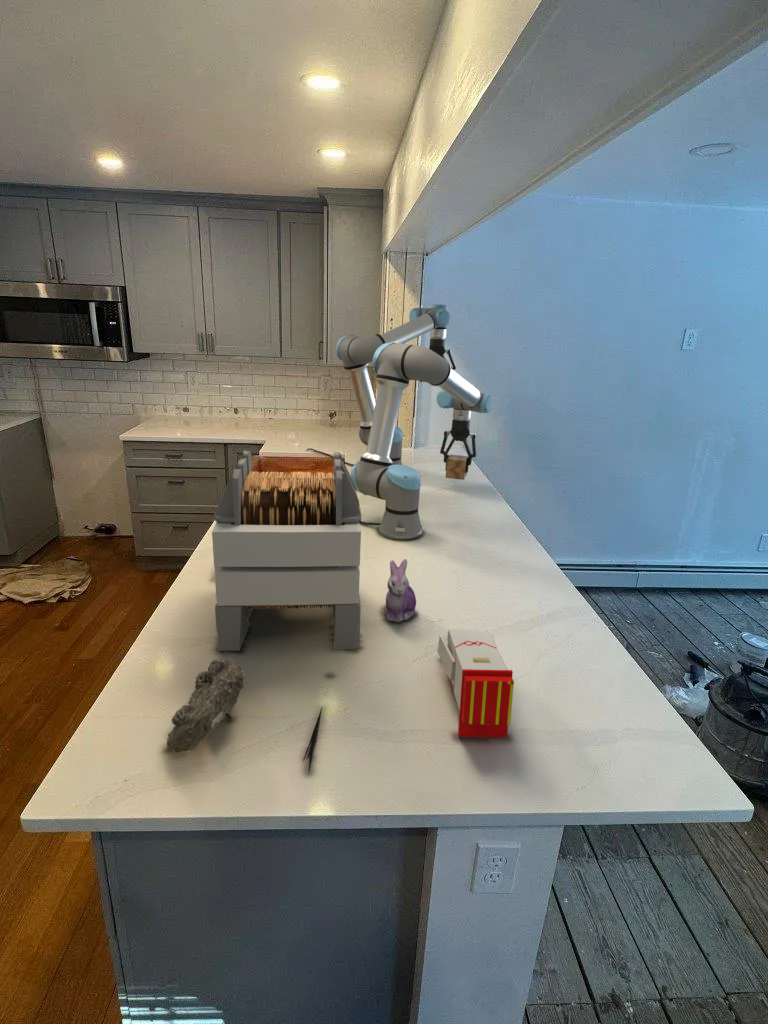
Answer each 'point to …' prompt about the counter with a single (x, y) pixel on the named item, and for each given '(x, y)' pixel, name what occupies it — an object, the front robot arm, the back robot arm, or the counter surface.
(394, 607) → the figurine
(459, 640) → the toy
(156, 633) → the counter surface
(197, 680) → the fossil
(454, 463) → the block
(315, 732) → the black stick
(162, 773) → the counter surface
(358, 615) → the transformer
